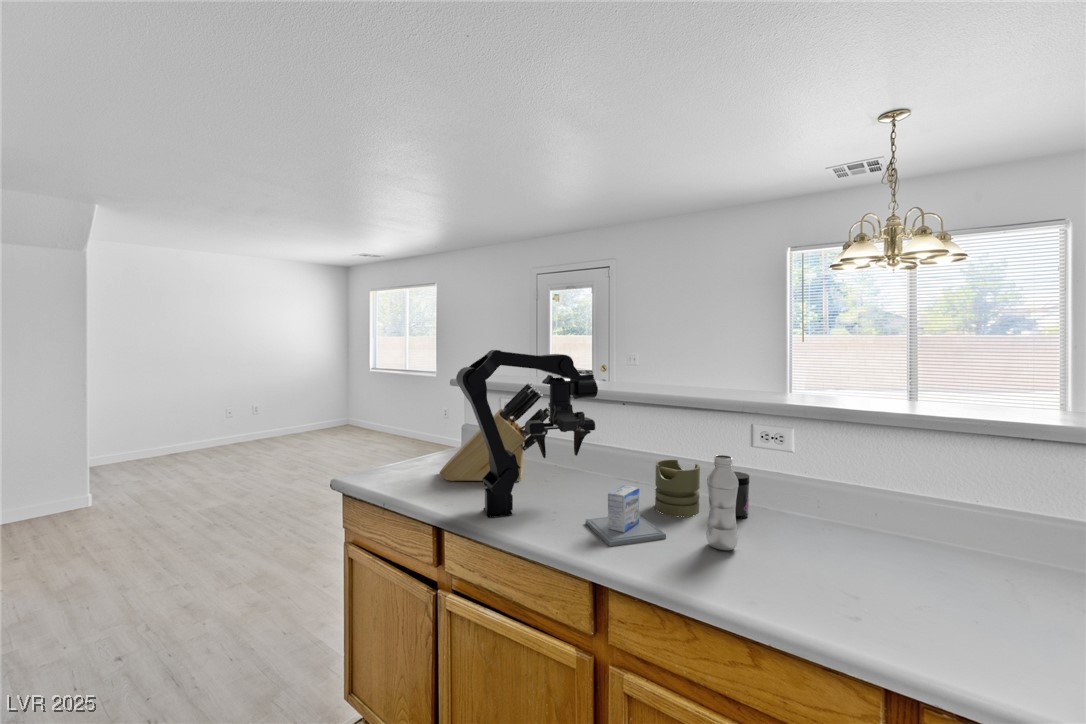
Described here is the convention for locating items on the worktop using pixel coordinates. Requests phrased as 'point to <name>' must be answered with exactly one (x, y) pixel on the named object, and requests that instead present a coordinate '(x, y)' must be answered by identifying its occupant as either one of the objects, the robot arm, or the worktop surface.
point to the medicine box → (623, 508)
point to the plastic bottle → (722, 505)
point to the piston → (677, 489)
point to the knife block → (475, 455)
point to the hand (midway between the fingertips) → (560, 456)
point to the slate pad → (633, 535)
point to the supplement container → (742, 495)
